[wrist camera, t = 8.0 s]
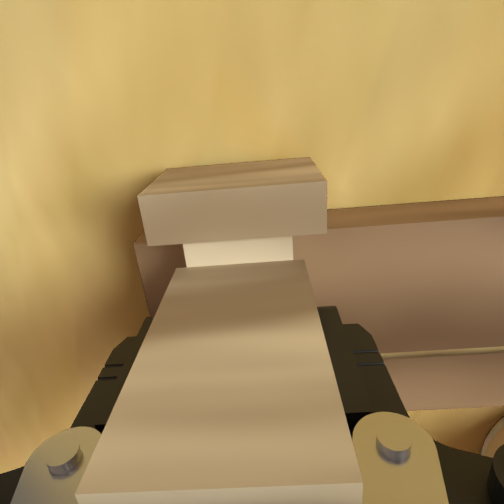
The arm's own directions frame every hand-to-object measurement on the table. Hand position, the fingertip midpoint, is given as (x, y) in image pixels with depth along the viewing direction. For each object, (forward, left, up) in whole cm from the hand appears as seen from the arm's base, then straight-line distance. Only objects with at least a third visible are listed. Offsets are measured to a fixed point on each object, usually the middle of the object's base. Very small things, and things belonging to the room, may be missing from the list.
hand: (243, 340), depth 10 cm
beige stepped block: (+1, 0, -4) cm, 4 cm away
